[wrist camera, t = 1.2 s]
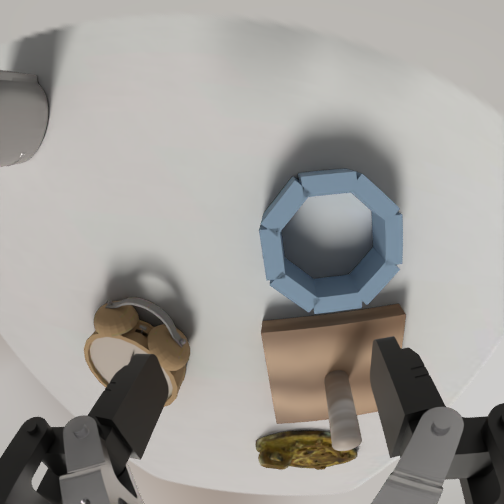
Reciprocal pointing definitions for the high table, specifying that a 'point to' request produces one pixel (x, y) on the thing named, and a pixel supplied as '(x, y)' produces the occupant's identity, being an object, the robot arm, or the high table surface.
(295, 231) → the high table surface
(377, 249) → the rubber loop
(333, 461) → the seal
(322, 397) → the wooden peg stand
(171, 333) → the alarm clock
